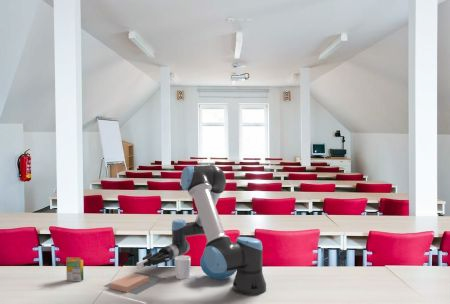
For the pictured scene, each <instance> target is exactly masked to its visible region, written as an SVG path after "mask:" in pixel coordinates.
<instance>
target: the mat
mask: <svg viewBox="0 0 450 304" xmlns="http://www.w3.org/2000/svg"><path fill="white" fill-rule="evenodd" d="M133 273H135V274H140V275H144V276H149V282H147V283H145V284H143V285H141V286H139V287H137V288H135V289H133V290H131V291H129V292H127V293H129V294H132V295H133V294H134V295H138V294H141V293H142V292H144V291H146V290H148V289H150V288H151V287H154V286H156V285H158V284H159V283H161V282H164V281H165V280H167V279H168V278H166V277H161V276H157V275H153V274H148V273H142V272H138V271H135V272H133ZM110 283H111V282H109V283H107V284H105V285H104V287H105V288H109V289H111V288H110Z"/></svg>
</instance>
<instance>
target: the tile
mask: <svg viewBox="0 0 450 304" xmlns="http://www.w3.org/2000/svg"><path fill="white" fill-rule="evenodd" d="M147 282H149V276H144V275H140V274H135V273H134V272H132V273H130V274H128V275H124V277H121V278H118V279H117V280H114V281H112V282H109V283H110V288H109V289H112V290H117V291H121V292H124V293H128V292H129V291H131V290H133V289H135V288H137V287H139V286H141V285H143V284H145V283H147Z"/></svg>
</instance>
